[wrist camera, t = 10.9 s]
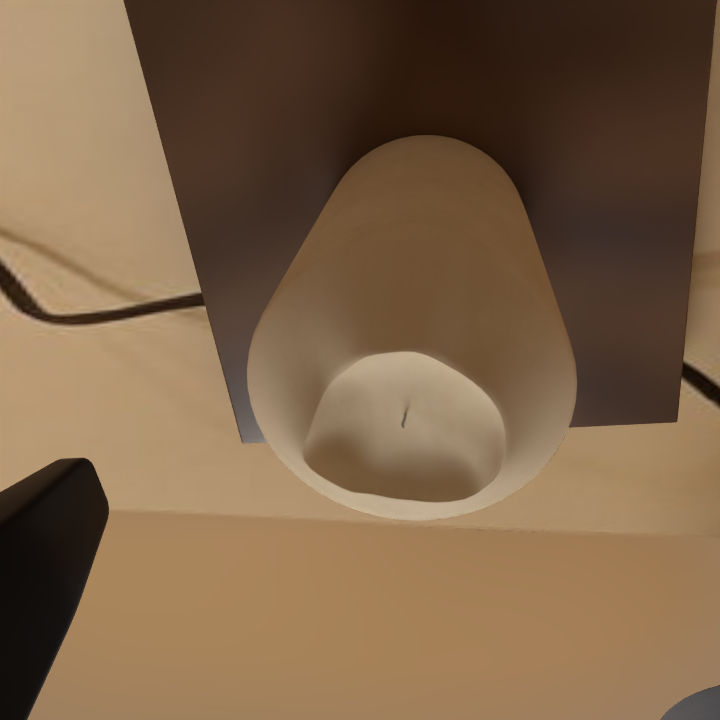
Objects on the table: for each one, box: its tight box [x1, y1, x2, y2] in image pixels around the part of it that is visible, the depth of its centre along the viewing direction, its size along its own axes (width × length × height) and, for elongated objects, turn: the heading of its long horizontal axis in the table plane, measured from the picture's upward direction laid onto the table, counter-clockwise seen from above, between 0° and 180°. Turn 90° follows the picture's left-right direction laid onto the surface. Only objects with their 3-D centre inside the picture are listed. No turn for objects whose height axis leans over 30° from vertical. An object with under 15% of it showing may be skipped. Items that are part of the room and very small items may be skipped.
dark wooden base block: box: [124, 0, 717, 443], centre depth 19 cm, size 14×14×2 cm
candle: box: [247, 135, 577, 520], centre depth 14 cm, size 6×6×10 cm
